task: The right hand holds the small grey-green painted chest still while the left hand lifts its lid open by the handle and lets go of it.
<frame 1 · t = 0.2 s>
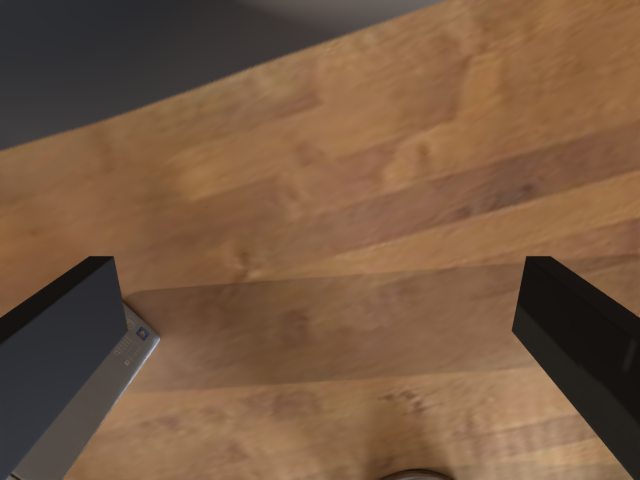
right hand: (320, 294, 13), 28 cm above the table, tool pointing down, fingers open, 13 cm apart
hard drive box: (95, 348, 46), on the table
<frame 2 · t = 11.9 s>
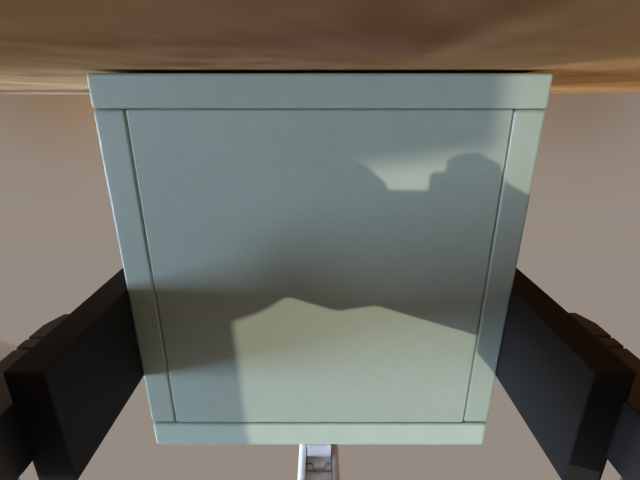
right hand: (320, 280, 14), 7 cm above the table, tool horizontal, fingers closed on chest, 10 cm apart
chest: (319, 82, 14), on the table, touching right hand
lid: (319, 379, 19), point 14 cm above the table, hinge at 0.0°
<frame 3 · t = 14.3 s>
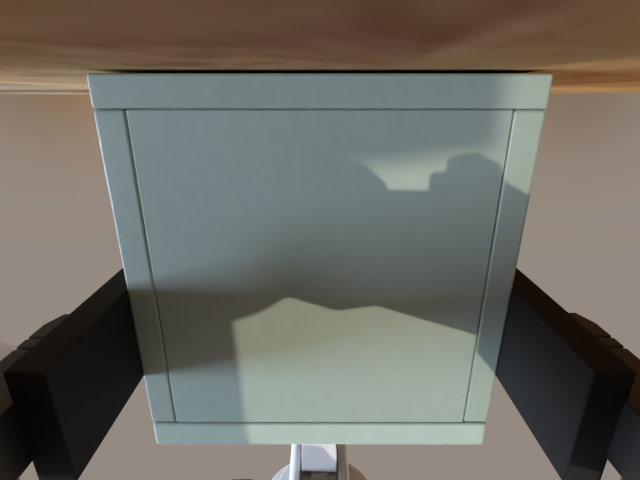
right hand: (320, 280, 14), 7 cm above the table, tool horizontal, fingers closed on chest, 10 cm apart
chest: (319, 82, 14), on the table, touching right hand
lid: (319, 379, 19), point 14 cm above the table, hinge at -0.1°, touching left hand
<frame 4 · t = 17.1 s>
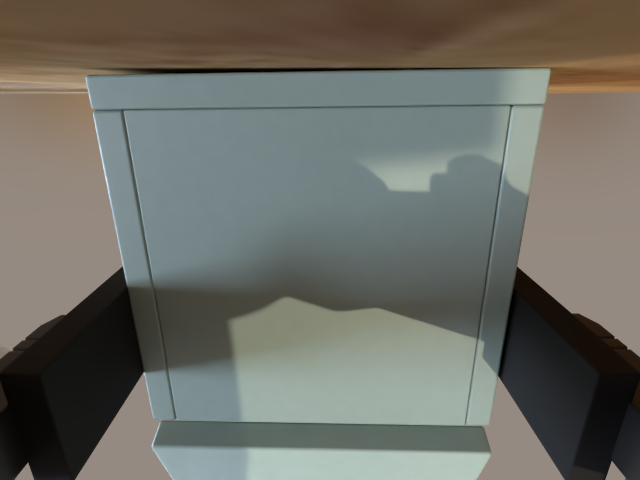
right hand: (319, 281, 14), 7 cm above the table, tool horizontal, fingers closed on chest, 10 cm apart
chest: (322, 83, 14), on the table, touching right hand
when the right hand's fingers open (7 cm above the table, at t = 21.1 s): chest stays where it is, on the table.
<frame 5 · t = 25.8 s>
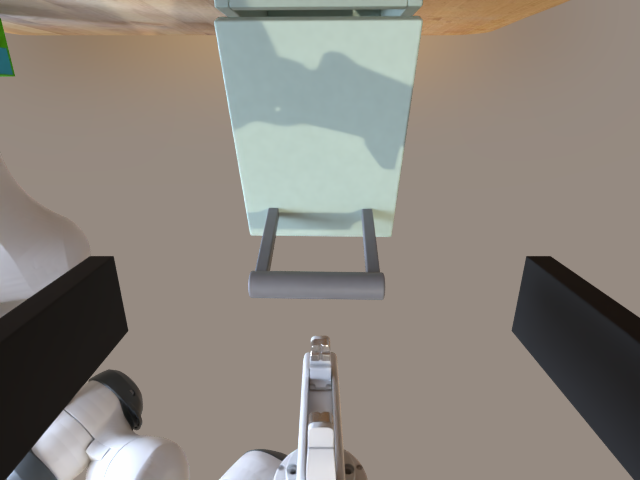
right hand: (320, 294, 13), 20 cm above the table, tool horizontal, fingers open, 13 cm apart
lid: (317, 179, 21), point 18 cm above the table, hinge at 68.7°
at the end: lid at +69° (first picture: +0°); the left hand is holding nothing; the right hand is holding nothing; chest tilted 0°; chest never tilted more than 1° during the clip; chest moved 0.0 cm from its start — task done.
